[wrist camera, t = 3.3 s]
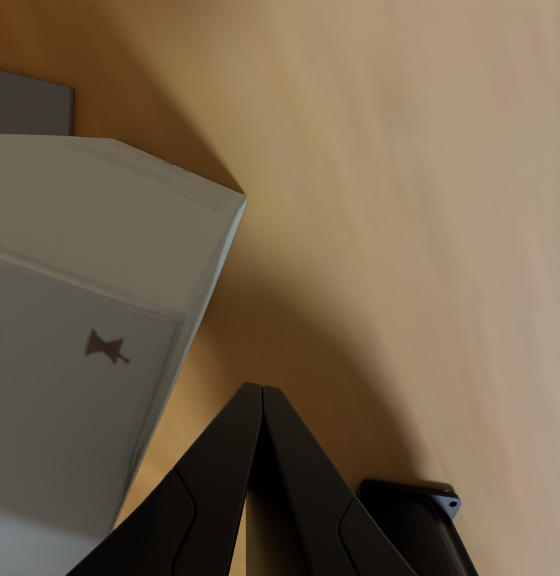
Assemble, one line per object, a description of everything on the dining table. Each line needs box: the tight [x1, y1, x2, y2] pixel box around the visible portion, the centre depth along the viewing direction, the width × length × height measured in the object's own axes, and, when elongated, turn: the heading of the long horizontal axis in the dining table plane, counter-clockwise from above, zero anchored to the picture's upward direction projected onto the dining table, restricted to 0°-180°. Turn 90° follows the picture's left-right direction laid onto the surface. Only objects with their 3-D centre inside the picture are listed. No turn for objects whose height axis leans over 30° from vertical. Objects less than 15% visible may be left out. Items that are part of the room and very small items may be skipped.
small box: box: [0, 134, 247, 576], centre depth 12 cm, size 8×6×13 cm
